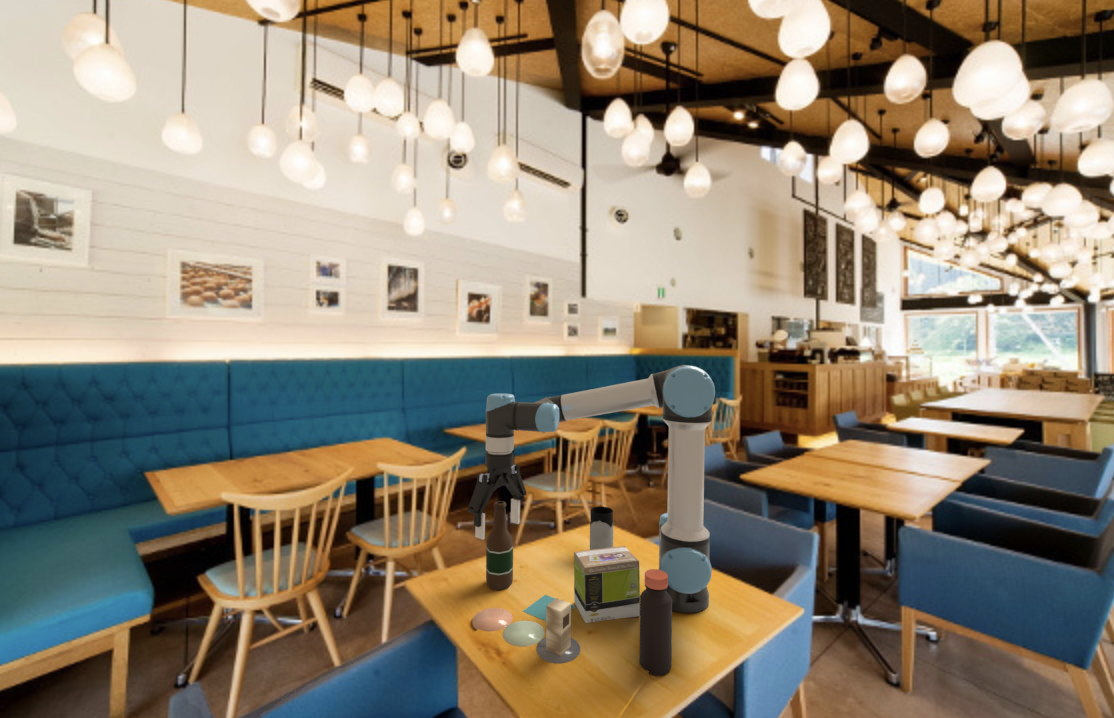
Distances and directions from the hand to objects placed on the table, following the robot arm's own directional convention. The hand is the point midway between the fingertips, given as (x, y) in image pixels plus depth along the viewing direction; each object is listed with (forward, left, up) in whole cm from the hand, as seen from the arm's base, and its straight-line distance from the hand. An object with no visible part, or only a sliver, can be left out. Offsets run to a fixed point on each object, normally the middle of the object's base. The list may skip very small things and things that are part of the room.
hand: (498, 530), depth 124 cm
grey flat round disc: (-24, +7, -20) cm, 32 cm away
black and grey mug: (-7, -45, -20) cm, 50 cm away
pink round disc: (-4, +7, -20) cm, 21 cm away
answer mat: (-13, -5, -20) cm, 25 cm away
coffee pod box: (-26, -14, -20) cm, 35 cm away
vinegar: (-44, -1, -20) cm, 49 cm away
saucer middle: (-14, +7, -20) cm, 26 cm away
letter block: (-24, +7, -19) cm, 32 cm away
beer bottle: (+7, -8, -20) cm, 23 cm away
